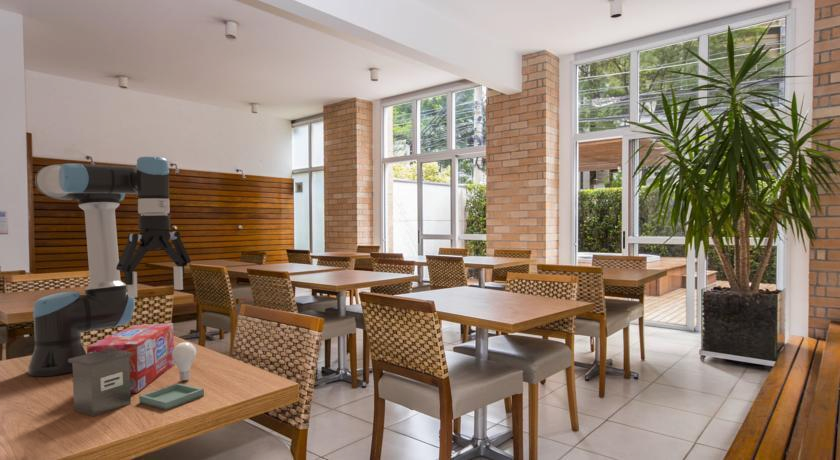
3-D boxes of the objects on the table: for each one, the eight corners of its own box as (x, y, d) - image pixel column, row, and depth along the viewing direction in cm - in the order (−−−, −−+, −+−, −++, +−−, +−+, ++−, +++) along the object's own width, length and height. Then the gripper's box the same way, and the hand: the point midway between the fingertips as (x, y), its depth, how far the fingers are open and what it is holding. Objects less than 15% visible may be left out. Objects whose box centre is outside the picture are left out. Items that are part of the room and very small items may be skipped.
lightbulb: (187, 385, 138) (186, 345, 138) (167, 384, 139) (166, 344, 139) (201, 377, 144) (200, 340, 144) (182, 376, 146) (181, 339, 145)
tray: (139, 403, 125) (139, 395, 125) (177, 389, 135) (177, 383, 134) (166, 410, 120) (166, 402, 120) (204, 395, 129) (203, 389, 129)
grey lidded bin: (70, 411, 121) (68, 358, 120) (113, 397, 130) (111, 348, 129) (91, 418, 116) (89, 363, 116) (134, 403, 125) (132, 352, 125)
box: (133, 366, 157) (132, 323, 157) (176, 364, 159) (175, 321, 158) (85, 397, 130) (83, 346, 130) (138, 394, 132) (136, 343, 131)
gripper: (117, 215, 122) (120, 301, 122) (202, 214, 144) (204, 287, 145) (98, 215, 125) (101, 299, 126) (184, 214, 147) (186, 285, 148)
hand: (156, 293), depth 135 cm, fingers open, 13 cm apart
